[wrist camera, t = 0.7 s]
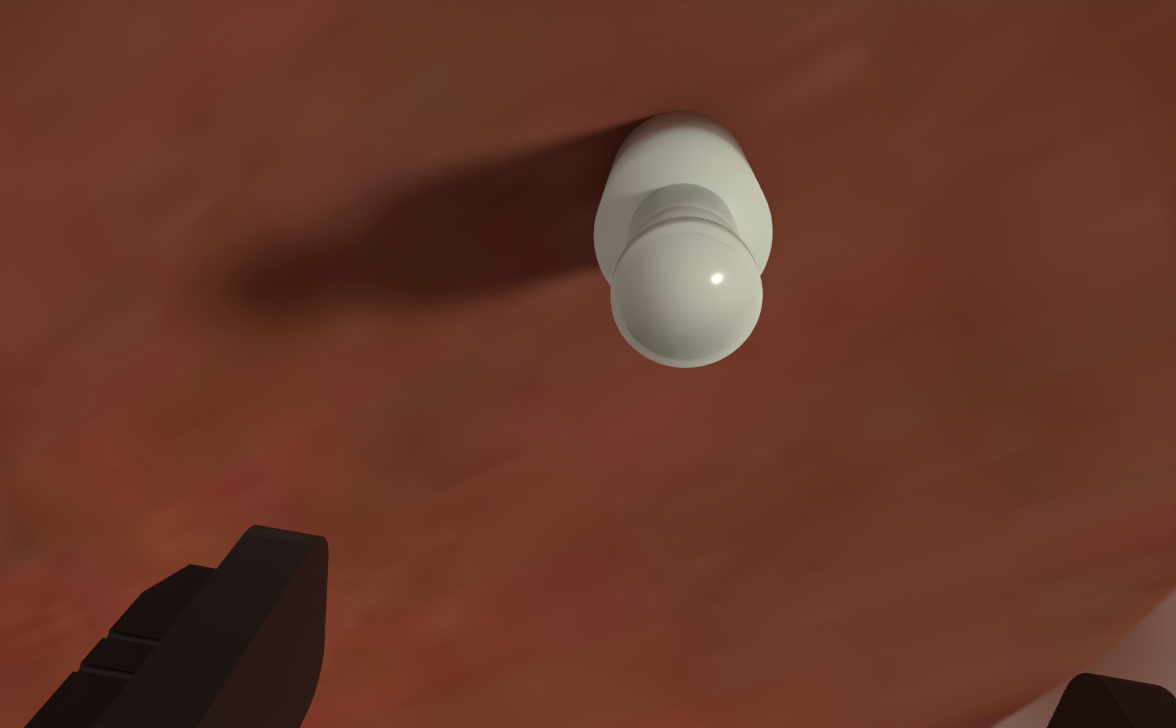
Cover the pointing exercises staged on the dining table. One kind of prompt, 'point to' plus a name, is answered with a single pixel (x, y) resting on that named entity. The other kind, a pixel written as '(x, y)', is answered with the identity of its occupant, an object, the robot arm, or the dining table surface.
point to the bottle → (683, 240)
